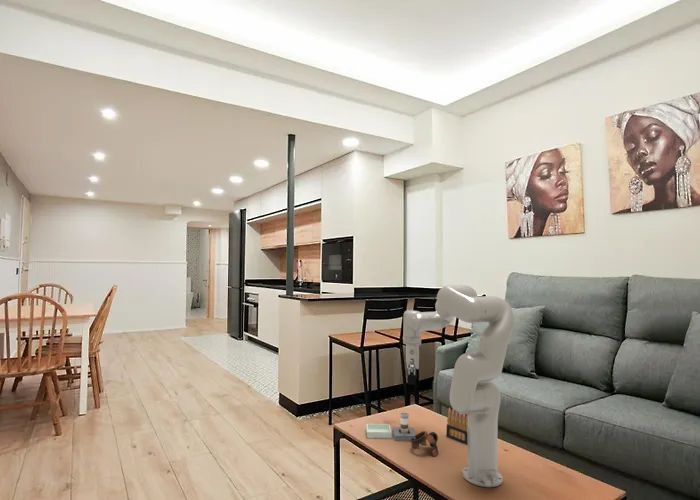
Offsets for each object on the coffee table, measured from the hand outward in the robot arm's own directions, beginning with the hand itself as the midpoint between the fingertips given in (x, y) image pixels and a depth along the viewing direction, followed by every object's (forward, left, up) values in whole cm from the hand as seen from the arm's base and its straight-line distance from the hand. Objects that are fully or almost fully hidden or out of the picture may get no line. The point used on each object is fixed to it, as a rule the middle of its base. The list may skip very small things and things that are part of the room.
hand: (411, 381), depth 171 cm
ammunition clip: (-5, -18, -22) cm, 29 cm away
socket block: (-2, +3, -22) cm, 22 cm away
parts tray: (0, +14, -22) cm, 26 cm away
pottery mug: (-16, -4, -22) cm, 27 cm away
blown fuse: (-2, +3, -22) cm, 22 cm away
